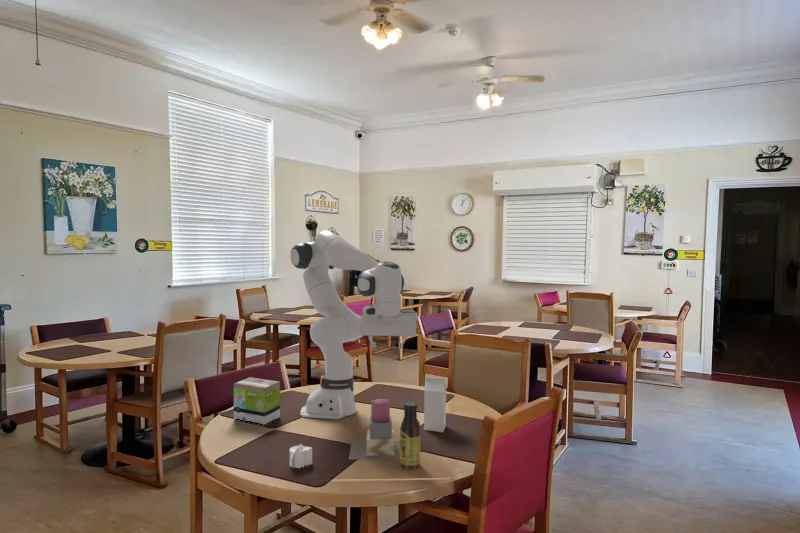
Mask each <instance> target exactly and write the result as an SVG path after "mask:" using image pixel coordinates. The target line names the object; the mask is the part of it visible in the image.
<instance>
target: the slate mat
mask: <svg viewBox="0 0 800 533" xmlns="http://www.w3.org/2000/svg"><path fill="white" fill-rule="evenodd" d="M348 460H400V440H397V441H396V440H395V455H390V456H366V441H351V442H350V450H349V455H348Z"/></svg>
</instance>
